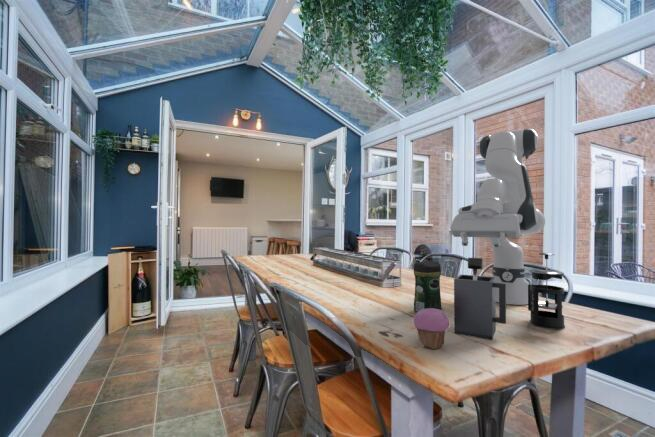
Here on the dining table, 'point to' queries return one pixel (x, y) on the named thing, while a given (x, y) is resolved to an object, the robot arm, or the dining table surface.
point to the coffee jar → (427, 285)
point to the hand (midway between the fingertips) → (480, 245)
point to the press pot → (478, 306)
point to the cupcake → (431, 327)
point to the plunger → (475, 265)
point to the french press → (545, 317)
